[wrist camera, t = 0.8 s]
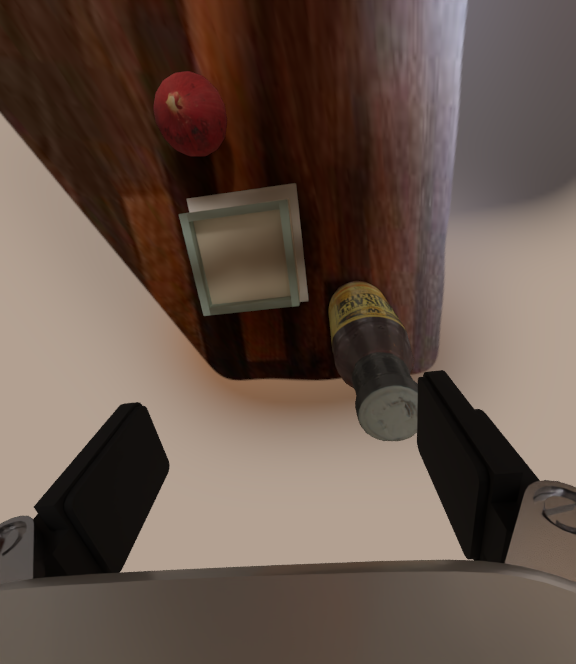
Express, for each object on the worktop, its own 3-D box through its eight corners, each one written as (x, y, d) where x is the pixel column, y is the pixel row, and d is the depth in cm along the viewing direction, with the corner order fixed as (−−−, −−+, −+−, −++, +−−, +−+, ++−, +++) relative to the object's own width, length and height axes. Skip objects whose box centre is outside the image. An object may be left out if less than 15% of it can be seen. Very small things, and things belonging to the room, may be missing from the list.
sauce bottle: (385, 279, 35) (476, 370, 17) (378, 331, 37) (448, 460, 19) (326, 276, 35) (351, 365, 17) (322, 328, 38) (340, 454, 19)
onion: (246, 141, 30) (227, 124, 23) (195, 171, 31) (163, 164, 24) (214, 74, 28) (183, 32, 21) (162, 109, 29) (115, 81, 22)
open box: (189, 198, 32) (165, 199, 27) (296, 183, 31) (294, 180, 26) (214, 308, 37) (198, 329, 31) (308, 298, 36) (309, 317, 30)
